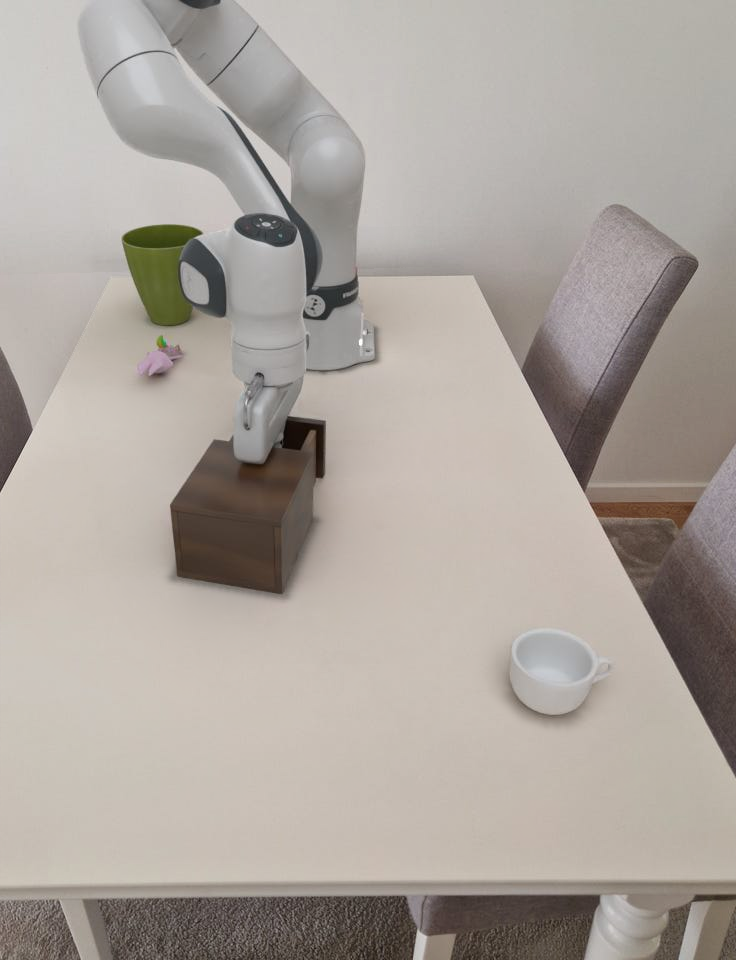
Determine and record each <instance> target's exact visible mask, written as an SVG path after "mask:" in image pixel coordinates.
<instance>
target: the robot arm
mask: <svg viewBox="0 0 736 960" xmlns="http://www.w3.org/2000/svg"><path fill="white" fill-rule="evenodd" d="M76 28H77V29H76V31H77V38H78V42H79V47H80V50H81V55H82V58H83V62H84V66H85V68H86V69H85V70H86V72H87V75H88V77H89V80H90V83H91V86H92V88H93V91H94V93H95V95H96V98H97V100H98V103H99V104H100V107H101V109H102V111H103V114H104V116H105V118H106V120H107V123H108V124H109V125H110V127H111V129H112V130H113V132H114V134H115V135H116V136H117V137H118V139H120V140H121V142H122V143H123V144H124V145H125V146H127V147H128V148H130V149H131V150H133V151H135V152H137V153H139V154H141V155H144V156H146V157H150V158H154V159H160V160H167V161H173V162H178V163H183V164H186V165H190V166H194V167H197V168H200V169H203V170H205V171H207V172H209V173H211V174H212V175H214V176H215V177H217V178H218V179H219V180H220V181H221V182H222V183H223V184H224V186H225V187H226V188H227V190H228V192H229V194H230V195H231V196H232V198H233V200H234V201H235V202H236V204H237V206H238V207H239V210H241V212H242V214H243V215H242V216H240V217H238V218H237V219H235V220H234V221H233V222H232V223H231V225H230V226H229V227H226V228H224V229H220V230H215V231H210V232H207V233H203V234H202V235H199V236H197V237H195V238H192V239H190V240H189V241H188V242H187V243H186V245H185V246H184V248H183V250H182V253H181V256H180V259H179V264H178V277H179V283H180V288H181V292H182V294H183V297H184V298H185V300H186V301H187V302H188V303H189V304H191V305H192V306H193V308H194V309H195V310H197V311H199V312H201V313H203V314H205V315H207V316H210V317H213V318H217V319H223V318H225V319H227V320H228V321H229V322H230V323H231V332H230V347H231V362H232V363H231V364H232V365H231V366H232V367H231V368H232V374H233V375H234V377H235V378H236V379H237V380H238V381H241V382H242V383H243V386H244V387H245V388H244V389H243V390H242V392H241V394H240V395H239V397H238V398H237V400H236V402H235V407H234V414H233V434H234V456H235V458H236V460H237V461H239V462H244V463H251V464H263V463H264V462H265V461H266V459H267V457H268V455H269V453H270V451H271V449H272V447H273V445H274V443H275V441H276V439H277V437H278V435H279V433H280V431H281V433H282V434H284V428H285V423H286V419H287V417H288V416H290V413H291V412H292V409H293V408H294V406H295V404H296V402H297V399H298V398H299V396H300V394H301V392H302V390H303V389H302V388H303V383H304V377H305V373H306V372H307V370H312V371H333V370H340V369H344V368H348V367H352V366H353V365H356V364H359V363H366V362H367V363H368V362H372V361H374V360H375V359H376V349H375V347H376V346H375V325H374V323H373V322H372V321H370V320H366V319H365V313H364V311H363V309H364V305H363V304H364V302H363V300H362V299H361V298H360V296H359V288H360V282H359V277H358V266H357V249H358V248H357V245H358V226H359V219H360V213H361V206H362V199H363V191H364V183H365V172H366V152H365V149H364V145H363V143H362V142H361V140H360V138H359V137H358V135H357V134H356V133H355V132H354V130H353V129H352V127H351V126H350V125H349V123H348V121H347V120H346V119H345V118H344V117H343V116H342V114H340V112H339V111H338V110H337V109H336V108H335V107H334V106H333V105H332V104H331V102H329V100H328V99H327V98H326V97H325V95H323V94H322V93H321V91H319V90H318V88H317V87H316V86H315V85H314V83H312V82H311V81H310V80H309V79H308V77H307V76H306V75H305V74H304V73H303V72H302V71H301V70H300V69H299V68H298V66H297V65H296V64H294V62H293V61H292V60H291V59H290V58H289V57H288V56H287V54H285V52H284V51H283V50H282V49H281V47H280V46H279V45H278V44H277V43H276V42H275V41H274V40H273V39H272V38H271V37H270V35H269V34H268V33H267V32H266V31H265V30H264V28H262V27H261V25H260V24H259V23H258V22H257V21H256V20H255V19H254V18H253V17H252V16H251V15H250V14H249V12H248V11H246V10H245V9H244V8H243V7H242V6H241V5H240V4H239V3H238V2H237V1H236V0H88V1H87V3H86V4H84V6H83V8H82V10H81V11H80V13H79V16H78V19H77V26H76ZM175 50H176V51H177V53H178V54H179V55H180V56H181V58H182V59H183V60H184V62H185V63H186V64H187V65H188V67H189V68H190V69H191V70H192V71H193V73H194V74H195V75H196V76H197V77H198V79H200V81H202V83H203V84H204V85H206V87H207V88H208V89H209V90H210V91H211V92H212V93H213V94H214V95H215V96H216V97H217V98H218V100H220V101H221V102H222V104H223V105H224V106H226V108H227V109H228V110H229V111H230V112H231V113H232V114H233V115H234V116H235V117H236V118H237V119H238V120H239V121H240V122H241V123H242V124H243V125H244V126H245V127H246V128H247V129H249V130H250V131H251V132H252V133H253V134H254V135H256V136H257V137H258V138H259V139H260V140H261V141H263V142H264V143H265V144H266V145H267V146H268V147H269V148H270V149H272V150H273V152H275V153H276V154H277V155H278V156H279V157H280V158H281V159H282V161H284V162H285V163H286V165H287V166H288V168H289V169H290V201H289V200H288V198H287V197H286V195H285V194H284V192H283V190H282V189H281V188H280V186H279V185H278V183H277V182H276V181H277V180H275V178H274V177H273V175H272V174H271V172H270V171H269V169H268V168H267V166H266V164H265V163H264V161H263V160H262V158H261V156H260V155H259V153H258V152H257V150H256V149H255V147H254V146H253V144H252V143H251V141H250V140H249V138H248V137H247V135H246V134H245V132H244V130H242V128H241V127H240V125H239V124H238V122H237V121H236V120H235V119H234V118H233V116H232V115H231V114H230V113H229V112H227V110H224V109H223V108H221V107H219V106H217V105H216V104H215V103H213V102H212V101H211V100H210V99H209V98H208V97H207V96H206V95H205V94H204V93H203V92H202V91H201V90H200V89H199V88H198V87H197V86H196V85H195V83H194V82H193V81H192V80H191V78H190V77H189V75H188V74H187V72H186V71H185V70H184V68H183V66H182V64H181V62H180V60H179V58H178V55H177V54H176V52H175ZM280 444H281V445H282V446H283V439H282V440H281V441H280Z"/></svg>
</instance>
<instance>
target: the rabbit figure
mask: <svg viewBox="0 0 736 960" xmlns="http://www.w3.org/2000/svg"><path fill="white" fill-rule="evenodd" d="M156 346H157V347H158V349H157V350H154V351H151V352H147V353H146V356H145V358H144V360H141V361H140V362H138V364H137V365H136V366H137V368H136V369H137V373H138V375H139V376H142V375H143V374H145V372H146V371H148V376H149V377H150V376H152V375H153V374H160V373H164V372H165V371H168V370H170V369H171V368H173V366H174V362H173V360H176V359H181V358H182V357H183V355H182V354H181V353H182V349H181V346H180V343H178V344H176V345H175V346H174V345H171V344H170V345H169V344H167V342H166V341H165V339H164V336H163V335H162V334H161V335H160V336H158V337H157V339H156ZM180 352H181V353H180Z"/></svg>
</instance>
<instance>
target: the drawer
mask: <svg viewBox="0 0 736 960" xmlns="http://www.w3.org/2000/svg"><path fill="white" fill-rule="evenodd" d="M283 436H284V437H283V446H282V448H285V449H293V450H301V451H308V452H313V488H314V486H315V485H316V482H317V479H322V480H323V479H324V478H325V475H326V452H327V451H326V450H327V449H326V447H327V446H326V445H327V443H326V441H327V420H324V419H318V418H317V419H316V418H309V417H308V418H307V417H301V416H291V415H289V416H288V417H287V419H286V423H285V428H284V434H283ZM228 441H231V442H234V433H233V434H232V435H231V437H230V439H229V440H228Z"/></svg>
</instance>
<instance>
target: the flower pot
mask: <svg viewBox="0 0 736 960" xmlns="http://www.w3.org/2000/svg"><path fill="white" fill-rule="evenodd" d="M202 234H204V232H203V231H202V230H201V229H199V228H197V227H194V226H190V225H185V224H171V223H170V224H169V223H168V224H167V223H165V224H164V223H163V224H151V225H145V226H141V227H137V228H133V229H131V230H127V232H125V233H123V234H122V236H121V237H120V238H121V244H122V247H123V252H124V255H125V259H126V263H127V266H128V269H129V273H130V275H131V278H132V281H133V283H134V286H135V288H136V291H137V294H138V296H139V298H140V300H141V303H142V305H143V307H144V309H145V311H146V313H147V315H148V317H149V319H150V321H151V322H152V323H153V324H156V325H159V326H176V325H177V326H178V325H181V324H183V323H186V322H187V321H189V319H190V318H191V315H192V311H193V308H194V307H193V306H192V305H191V304H189V303H188V302H187V301H186V300H185V298H184V297H183V294H182V292H181V288H180V283H179V277H178V264H179V259H180V256H181V253H182V250H183V248H184V246H185V245H186V243H187V242H188V241H189V240H190V239H192V238H195V237H197V236H199V235H202Z"/></svg>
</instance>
